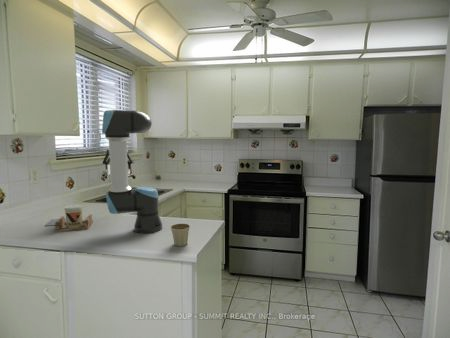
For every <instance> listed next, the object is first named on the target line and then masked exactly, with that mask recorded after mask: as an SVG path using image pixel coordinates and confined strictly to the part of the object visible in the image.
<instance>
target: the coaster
mask: <svg viewBox="0 0 450 338" xmlns="http://www.w3.org/2000/svg"><path fill="white" fill-rule="evenodd" d="M64 218H65V222H67V221H66V217H64ZM59 219H60V218H54V219H53V218H52V219H50V220H49V221H48V222H47V223H45V224H44V225H43V227H44V226H45V227H56V224H55V222H56V221H57V220H59ZM64 226H67V224H65V225H64Z"/></svg>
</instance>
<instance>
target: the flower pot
mask: <svg viewBox="0 0 450 338" xmlns="http://www.w3.org/2000/svg"><path fill="white" fill-rule="evenodd" d="M169 228H170V230H171V234H172V239H173V244H174V245H175V246H176V247H177V246H179V247H182V246H183V247H184V246H186V245H188V239H189V232H190V231H189V230H190V229H191V225H190V224H189V223H175V224H172V225H171V226H170V227H169Z"/></svg>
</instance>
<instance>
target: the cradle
mask: <svg viewBox="0 0 450 338" xmlns="http://www.w3.org/2000/svg"><path fill="white" fill-rule="evenodd" d="M65 218H66V217H65V216H60V218H58V219H59V220H57V221H56V222H55V224H56V226H55V229H54V232H55V233H62V232H71V231H72V232H74V231H85V230H87V231H88V230H89V229H90V227H91V226H92V224H93V221H94V220H93V214H88V216H87V217H85V219H84V220H83V223H82V224H84V225H85V227H83V226H82V227H80V228H69V229H68V228H64V227H65V226H66V225H65V224H67V222H65Z"/></svg>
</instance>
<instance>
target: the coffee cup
mask: <svg viewBox="0 0 450 338" xmlns="http://www.w3.org/2000/svg"><path fill="white" fill-rule="evenodd" d="M83 208H84V206H83V205H82V204H70V205H66V206H65V207H64V214H65V218H66V221H67V225H66V226H67V227H66V228H67V229H69V228H81V227H83V224H84V223H83V221H84V220H83V219H84V218H83V214H84V213H83V211H84V210H83Z"/></svg>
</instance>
